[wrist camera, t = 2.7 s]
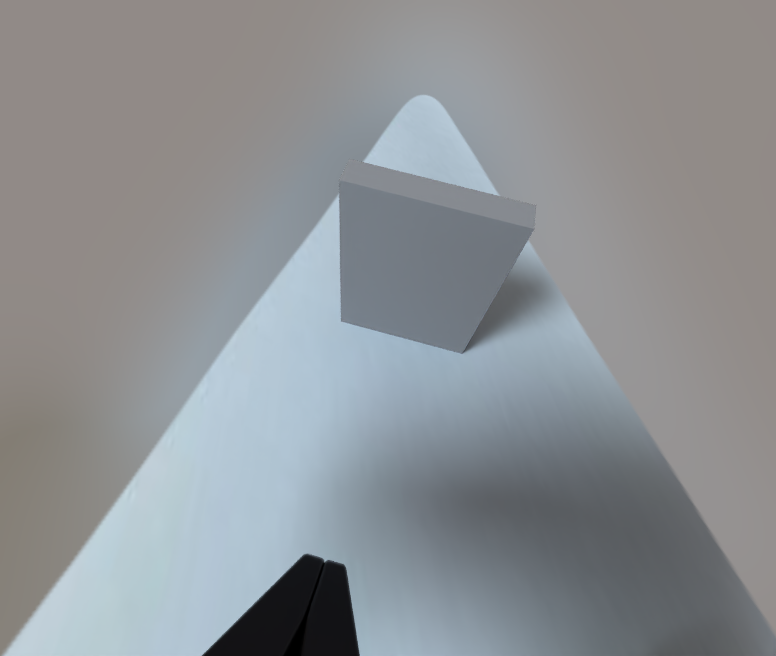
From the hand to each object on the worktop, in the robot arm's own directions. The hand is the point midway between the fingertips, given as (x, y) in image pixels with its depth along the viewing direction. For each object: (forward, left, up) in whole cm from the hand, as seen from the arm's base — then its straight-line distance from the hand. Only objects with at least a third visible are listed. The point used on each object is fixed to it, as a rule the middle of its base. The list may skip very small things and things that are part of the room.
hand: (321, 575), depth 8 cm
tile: (+13, +2, -13) cm, 19 cm away
